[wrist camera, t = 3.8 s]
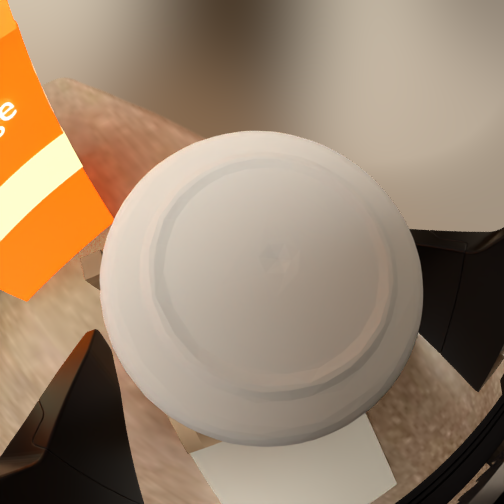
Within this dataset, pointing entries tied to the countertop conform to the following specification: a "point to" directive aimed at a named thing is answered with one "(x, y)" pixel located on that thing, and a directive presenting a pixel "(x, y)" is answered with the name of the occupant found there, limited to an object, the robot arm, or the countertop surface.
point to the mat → (300, 469)
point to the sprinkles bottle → (261, 288)
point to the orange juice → (37, 178)
